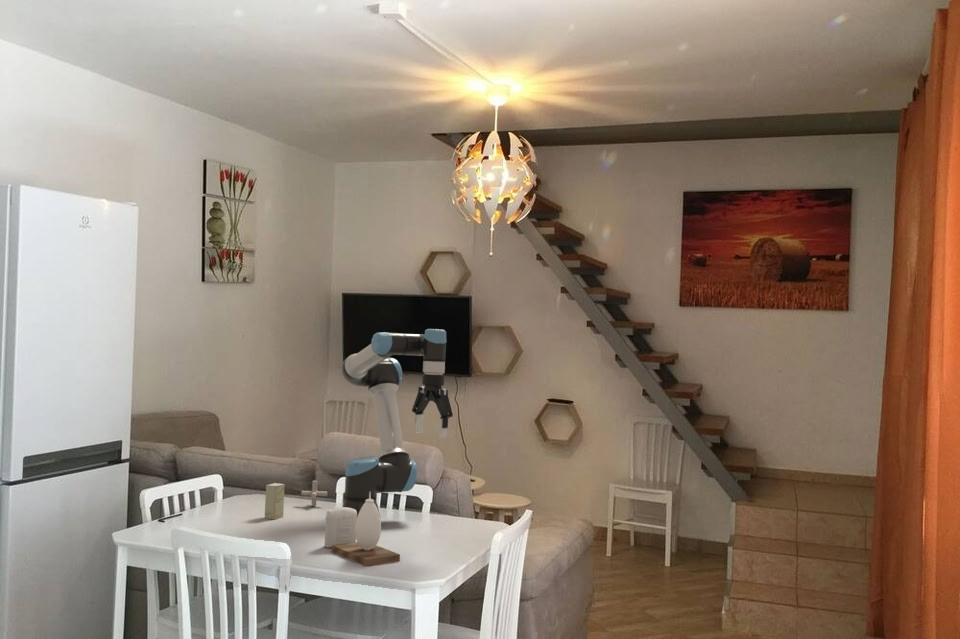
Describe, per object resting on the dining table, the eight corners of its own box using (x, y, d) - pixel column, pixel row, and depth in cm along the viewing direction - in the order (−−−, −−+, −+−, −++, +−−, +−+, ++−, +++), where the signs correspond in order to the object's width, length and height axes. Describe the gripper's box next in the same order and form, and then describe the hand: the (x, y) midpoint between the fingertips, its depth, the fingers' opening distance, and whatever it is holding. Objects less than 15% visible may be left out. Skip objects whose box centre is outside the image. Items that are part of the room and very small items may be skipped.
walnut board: (331, 551, 265) (331, 545, 265) (364, 547, 273) (364, 540, 273) (366, 566, 250) (366, 559, 250) (399, 561, 257) (400, 554, 257)
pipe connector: (302, 503, 339) (303, 478, 340) (327, 504, 340) (328, 479, 341) (299, 508, 329) (300, 482, 330) (325, 509, 330) (326, 483, 331)
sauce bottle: (361, 545, 266) (364, 487, 267) (384, 548, 264) (386, 490, 264) (350, 550, 259) (353, 491, 259) (373, 553, 257) (376, 494, 257)
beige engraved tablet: (352, 543, 277) (354, 505, 277) (357, 546, 273) (359, 507, 274) (322, 545, 272) (324, 507, 272) (326, 548, 268) (328, 509, 269)
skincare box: (274, 519, 307) (276, 486, 308) (263, 518, 309) (265, 484, 309) (283, 516, 313) (285, 483, 314) (273, 515, 315) (275, 482, 315)
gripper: (464, 376, 285) (461, 439, 285) (421, 372, 305) (418, 431, 304) (447, 375, 281) (444, 440, 280) (404, 371, 300) (401, 431, 299)
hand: (430, 435), depth 292 cm, fingers open, 13 cm apart
